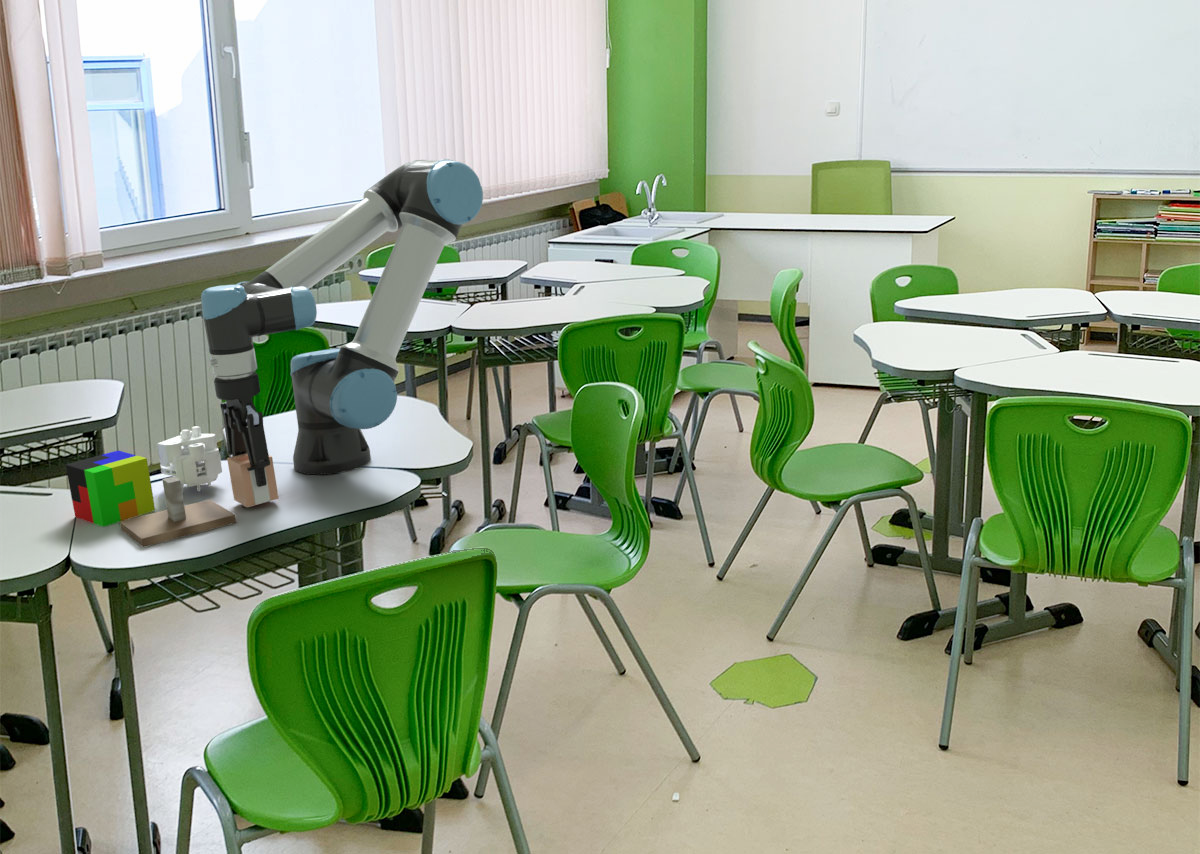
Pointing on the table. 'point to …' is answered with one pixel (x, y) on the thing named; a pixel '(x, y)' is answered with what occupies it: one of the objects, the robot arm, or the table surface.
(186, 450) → the mechanical part
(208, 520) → the shaft plate
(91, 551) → the table surface
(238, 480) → the peach block with hole
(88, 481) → the puzzle toy
